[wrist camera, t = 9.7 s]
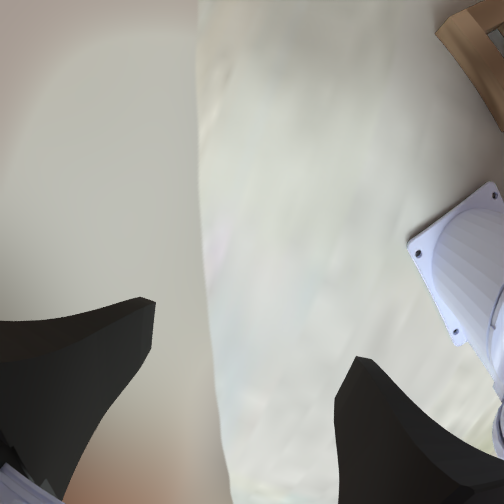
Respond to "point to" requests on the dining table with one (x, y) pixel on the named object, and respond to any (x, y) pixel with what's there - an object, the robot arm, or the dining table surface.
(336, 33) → the dining table surface
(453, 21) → the pin block
